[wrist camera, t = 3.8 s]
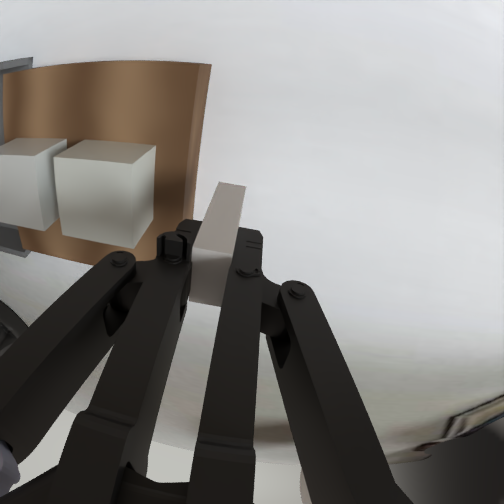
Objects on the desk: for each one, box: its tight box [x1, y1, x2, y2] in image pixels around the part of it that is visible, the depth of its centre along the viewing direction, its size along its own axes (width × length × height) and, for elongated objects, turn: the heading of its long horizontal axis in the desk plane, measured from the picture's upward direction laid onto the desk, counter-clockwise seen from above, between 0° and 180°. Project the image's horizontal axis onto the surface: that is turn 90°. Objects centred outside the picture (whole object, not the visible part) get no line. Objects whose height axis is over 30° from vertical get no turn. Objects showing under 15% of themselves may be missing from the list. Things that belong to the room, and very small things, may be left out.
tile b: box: [53, 140, 156, 249], centre depth 17 cm, size 5×5×4 cm
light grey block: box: [0, 138, 67, 231], centre depth 16 cm, size 5×5×4 cm
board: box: [3, 61, 212, 266], centre depth 19 cm, size 15×15×4 cm
